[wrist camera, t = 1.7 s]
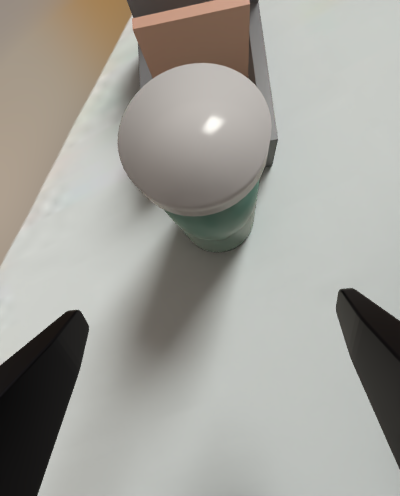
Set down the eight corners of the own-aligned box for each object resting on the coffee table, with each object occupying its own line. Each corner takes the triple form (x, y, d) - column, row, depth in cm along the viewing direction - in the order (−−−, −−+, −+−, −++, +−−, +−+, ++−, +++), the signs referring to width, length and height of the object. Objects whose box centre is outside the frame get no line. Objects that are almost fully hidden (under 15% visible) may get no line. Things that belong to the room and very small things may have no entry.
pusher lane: (272, 165, 24) (284, 111, 17) (158, 181, 25) (126, 137, 18) (252, 19, 27) (255, -77, 20) (151, 41, 28) (121, -43, 21)
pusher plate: (247, 108, 25) (250, 3, 16) (170, 121, 26) (132, 29, 17) (246, 100, 25) (248, -8, 16) (169, 113, 26) (132, 18, 17)
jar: (244, 264, 23) (245, 223, 10) (171, 242, 24) (96, 184, 12) (265, 191, 23) (289, 75, 11) (193, 174, 25) (146, 53, 12)
